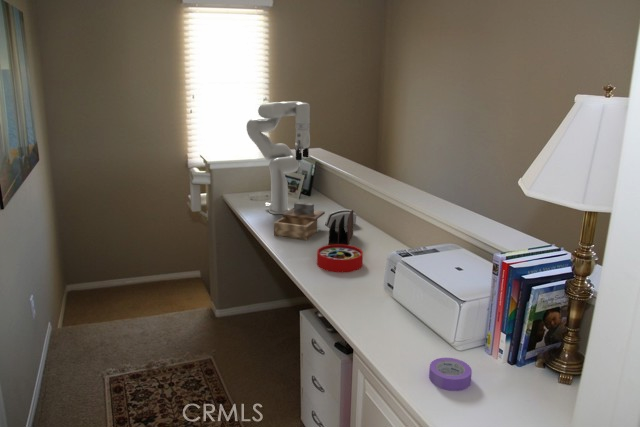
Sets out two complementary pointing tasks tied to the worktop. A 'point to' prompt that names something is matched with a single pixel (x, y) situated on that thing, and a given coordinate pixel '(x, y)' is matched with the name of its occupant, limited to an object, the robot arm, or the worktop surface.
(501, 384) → the worktop surface
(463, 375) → the masking tape
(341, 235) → the letter holder
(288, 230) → the wooden box
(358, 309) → the worktop surface
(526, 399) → the worktop surface
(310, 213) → the lid
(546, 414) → the worktop surface
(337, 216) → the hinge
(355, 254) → the toy clock
